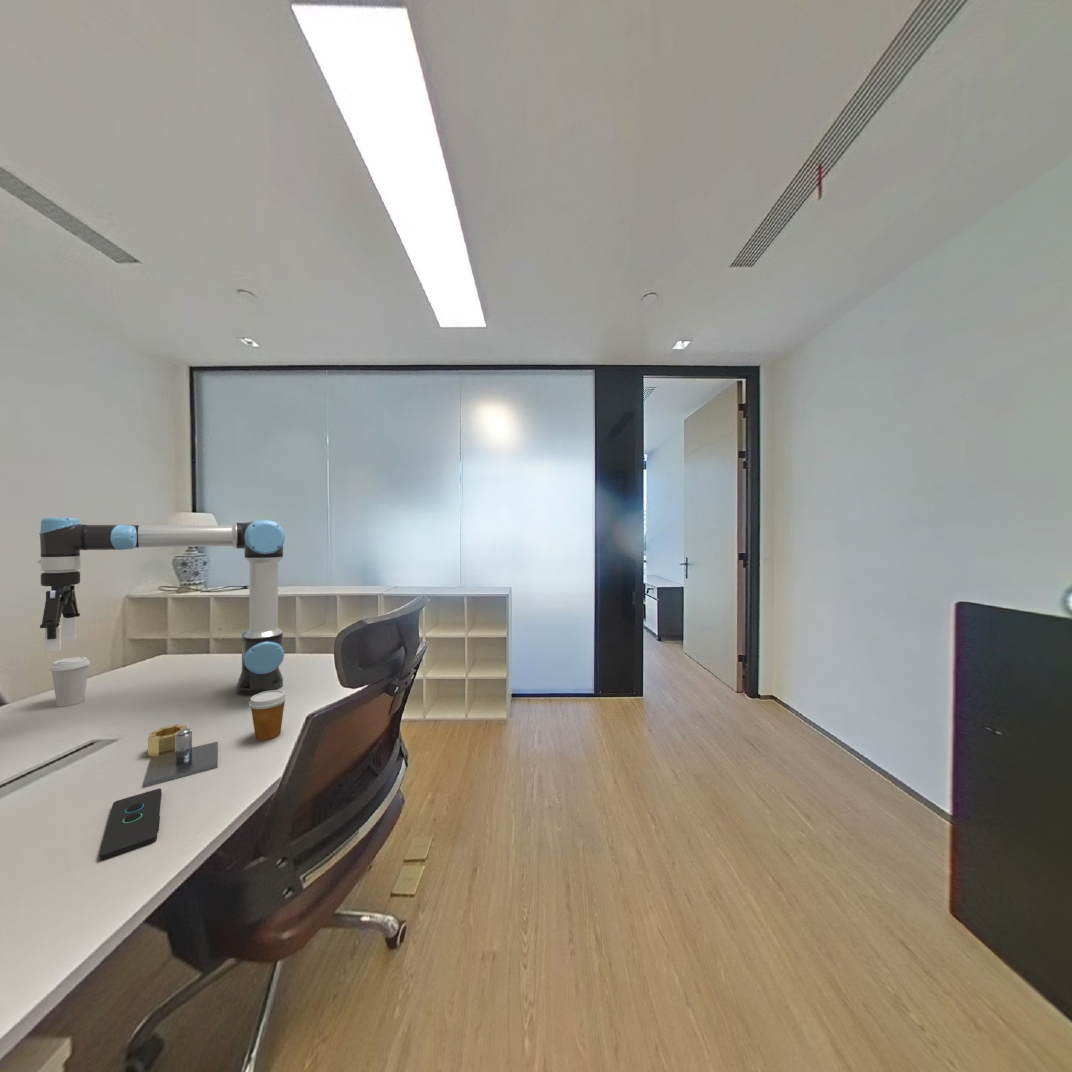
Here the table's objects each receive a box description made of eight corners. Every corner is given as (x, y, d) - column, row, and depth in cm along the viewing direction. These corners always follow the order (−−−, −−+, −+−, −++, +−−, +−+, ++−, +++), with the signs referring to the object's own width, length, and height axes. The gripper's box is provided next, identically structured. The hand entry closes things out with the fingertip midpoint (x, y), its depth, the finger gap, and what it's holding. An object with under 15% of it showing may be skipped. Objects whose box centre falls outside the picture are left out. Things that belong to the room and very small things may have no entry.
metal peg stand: (217, 744, 119) (217, 714, 119) (217, 767, 108) (217, 733, 108) (151, 760, 111) (151, 728, 111) (143, 787, 100) (143, 750, 100)
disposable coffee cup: (294, 731, 128) (294, 692, 128) (264, 746, 119) (264, 704, 119) (271, 725, 131) (271, 687, 131) (241, 740, 122) (240, 699, 122)
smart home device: (162, 786, 98) (157, 835, 83) (162, 793, 98) (157, 843, 83) (112, 801, 93) (97, 855, 77) (112, 808, 93) (97, 865, 77)
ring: (187, 739, 122) (187, 722, 122) (186, 751, 116) (185, 733, 116) (150, 747, 117) (150, 730, 117) (146, 760, 111) (146, 741, 111)
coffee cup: (44, 705, 144) (43, 662, 143) (82, 695, 153) (82, 654, 152) (58, 710, 140) (57, 666, 140) (96, 700, 149) (96, 658, 149)
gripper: (56, 568, 128) (57, 637, 129) (22, 576, 108) (23, 658, 108) (91, 567, 133) (92, 633, 133) (65, 574, 112) (66, 653, 113)
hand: (61, 644), depth 121 cm, fingers open, 13 cm apart
